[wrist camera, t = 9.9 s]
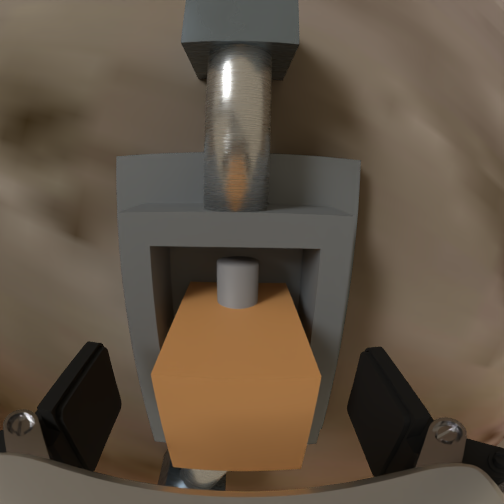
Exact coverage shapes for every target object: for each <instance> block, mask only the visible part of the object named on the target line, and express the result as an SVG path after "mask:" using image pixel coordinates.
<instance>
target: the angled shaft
mask: <svg viewBox="0 0 504 504" xmlns="http://www.w3.org/2000/svg"><path fill="white" fill-rule="evenodd" d="M227 472H228V471H217V470H200V469H187V468H177V467H173V465H172V461H171V458H170V454H169V451H168V450H167V452H166V454H165V455H164V459H163V463H162V468H161V472H160V477H159V481H158V485H162V486H169V487H178V488H187V489H199V490H214V491H225V483H226V473H227Z"/></svg>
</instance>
